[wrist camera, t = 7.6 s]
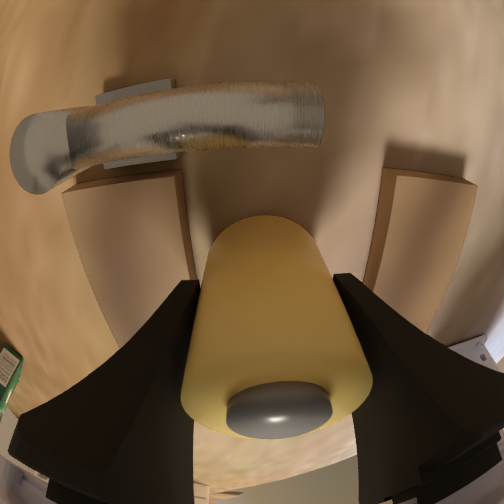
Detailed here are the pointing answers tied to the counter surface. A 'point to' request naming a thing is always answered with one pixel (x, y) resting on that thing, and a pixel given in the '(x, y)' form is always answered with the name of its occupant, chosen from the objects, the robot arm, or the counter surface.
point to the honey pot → (201, 494)
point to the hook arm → (163, 126)
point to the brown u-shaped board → (181, 256)
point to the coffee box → (8, 375)
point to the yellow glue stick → (271, 337)
